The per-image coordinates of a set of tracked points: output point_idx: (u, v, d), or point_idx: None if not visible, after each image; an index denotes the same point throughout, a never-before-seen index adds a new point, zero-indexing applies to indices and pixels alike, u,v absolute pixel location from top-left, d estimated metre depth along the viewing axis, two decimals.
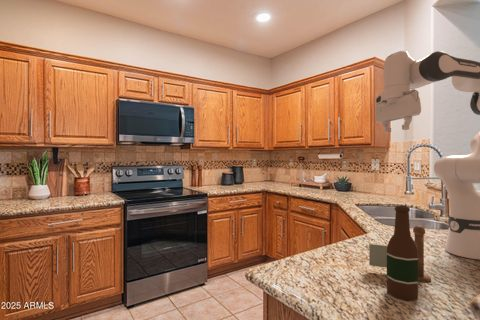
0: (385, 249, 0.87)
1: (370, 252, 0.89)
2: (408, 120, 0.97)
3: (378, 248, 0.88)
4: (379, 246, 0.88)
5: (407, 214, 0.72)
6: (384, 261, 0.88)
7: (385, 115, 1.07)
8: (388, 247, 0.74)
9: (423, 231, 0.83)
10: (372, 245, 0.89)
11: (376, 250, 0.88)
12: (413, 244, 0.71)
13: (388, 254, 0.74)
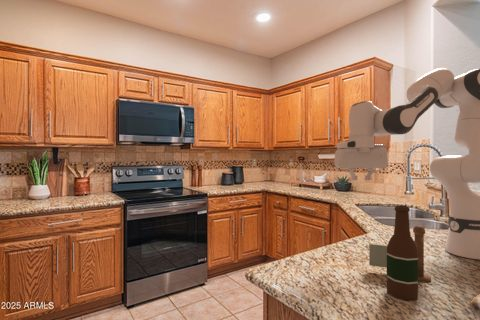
0: (385, 249, 0.87)
1: (370, 252, 0.89)
2: None
3: (378, 248, 0.88)
4: (379, 246, 0.88)
5: (407, 214, 0.72)
6: (384, 261, 0.88)
7: (355, 163, 1.01)
8: (388, 247, 0.74)
9: (423, 231, 0.83)
10: (372, 245, 0.89)
11: (376, 250, 0.88)
12: (413, 244, 0.71)
13: (388, 254, 0.74)
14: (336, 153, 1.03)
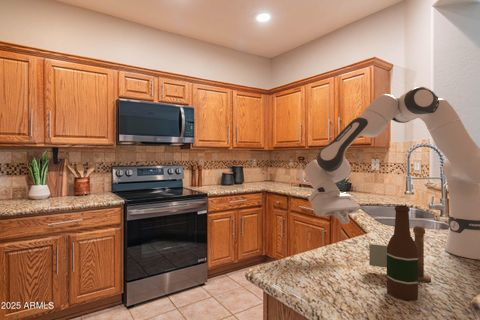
0: (385, 249, 0.87)
1: (370, 252, 0.89)
2: None
3: (378, 248, 0.88)
4: (379, 246, 0.88)
5: (407, 214, 0.72)
6: (384, 261, 0.88)
7: (332, 206, 1.03)
8: (388, 247, 0.74)
9: (423, 231, 0.83)
10: (372, 245, 0.89)
11: (376, 250, 0.88)
12: (413, 244, 0.71)
13: (388, 254, 0.74)
14: (312, 203, 1.05)
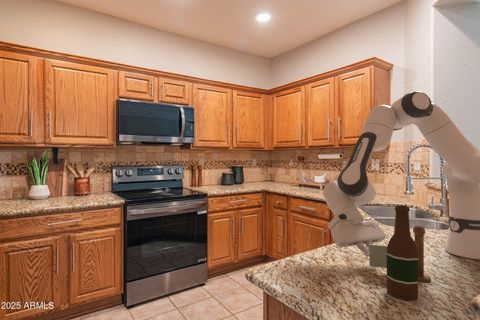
0: (385, 249, 0.87)
1: (370, 253, 0.88)
2: None
3: (378, 249, 0.88)
4: (380, 247, 0.87)
5: (407, 214, 0.72)
6: (384, 262, 0.87)
7: (356, 236, 0.92)
8: (388, 247, 0.74)
9: (423, 231, 0.83)
10: (372, 246, 0.88)
11: (377, 251, 0.88)
12: (413, 244, 0.71)
13: (388, 254, 0.74)
14: (333, 231, 0.94)
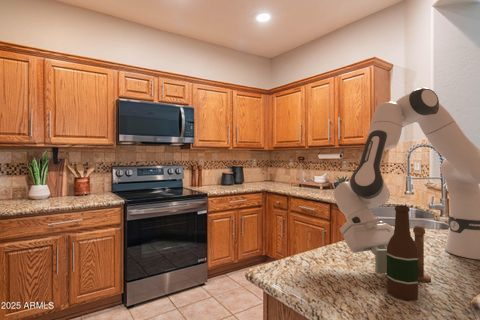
0: None
1: (378, 259, 0.83)
2: None
3: (385, 254, 0.83)
4: None
5: (407, 214, 0.72)
6: None
7: (371, 240, 0.87)
8: (388, 247, 0.74)
9: (423, 231, 0.83)
10: (380, 251, 0.83)
11: (384, 256, 0.83)
12: (413, 244, 0.71)
13: (388, 254, 0.74)
14: (346, 235, 0.89)
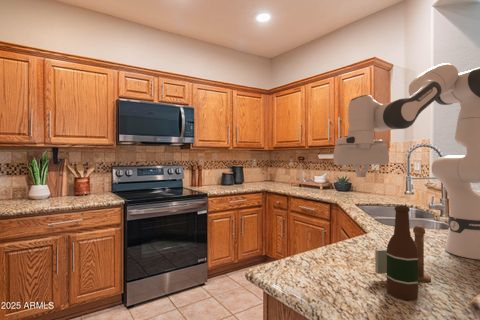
0: None
1: (378, 259, 0.83)
2: None
3: (385, 254, 0.83)
4: None
5: (407, 214, 0.72)
6: None
7: (355, 159, 0.98)
8: (388, 247, 0.74)
9: (423, 231, 0.83)
10: (380, 251, 0.83)
11: (384, 256, 0.83)
12: (413, 244, 0.71)
13: (388, 254, 0.74)
14: (335, 149, 0.99)
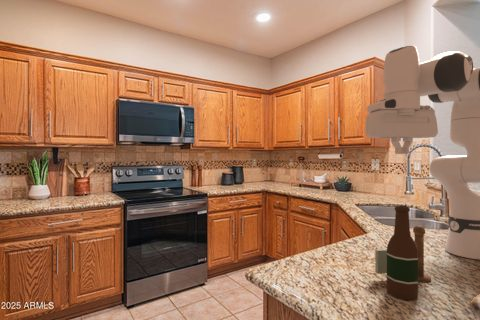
0: None
1: (378, 259, 0.83)
2: None
3: (385, 254, 0.83)
4: None
5: (407, 214, 0.72)
6: None
7: (395, 130, 0.74)
8: (388, 247, 0.74)
9: (423, 231, 0.83)
10: (380, 251, 0.83)
11: (384, 256, 0.83)
12: (413, 244, 0.71)
13: (388, 254, 0.74)
14: (369, 118, 0.76)
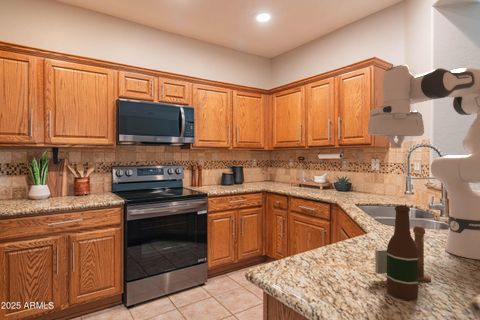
0: None
1: (378, 259, 0.83)
2: None
3: (385, 254, 0.83)
4: None
5: (407, 214, 0.72)
6: None
7: (390, 129, 0.97)
8: (388, 247, 0.74)
9: (423, 231, 0.83)
10: (380, 251, 0.83)
11: (384, 256, 0.83)
12: (413, 244, 0.71)
13: (388, 254, 0.74)
14: (370, 120, 0.98)
